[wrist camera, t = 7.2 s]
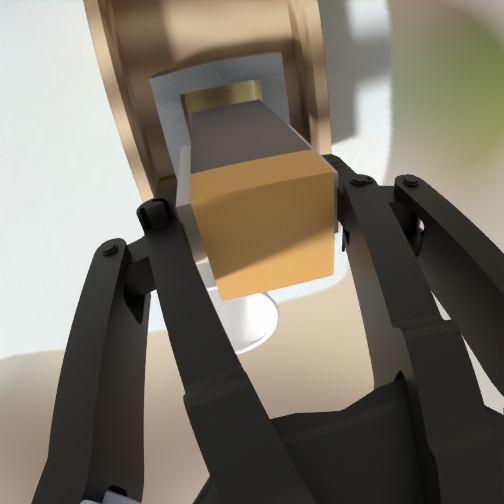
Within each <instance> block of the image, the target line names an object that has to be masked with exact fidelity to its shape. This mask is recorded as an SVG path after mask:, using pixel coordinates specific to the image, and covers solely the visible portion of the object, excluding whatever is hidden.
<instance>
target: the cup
mask: <svg viewBox="0 0 504 504" xmlns="http://www.w3.org/2000/svg"><path fill="white" fill-rule="evenodd" d="M196 266H197V268H198V271H199V273H200V275H201V278H202V280H203V282H204V285H205V287H206V289H207V291H208V294H209V296H210V298H211V301H212V303H213V305H214V307H215V310H216V312H217V314H218V316H219V318H220V321H221V323H222V325H223V327H224V329H225V332H226V334H227V336H228V338H229V340H230V342H231V345H232V347H233V349H234V351H235V353H236V354H240V353H243V352H246V351H248V350H251V349H253V348H255V347H257V346H259V345H260V344H261V343H263V342H264V341H265V340H267V339H268V338H269V337H270V336H271V334H272V333H273V332H274V331H275V329H276V326H277V324H278V320H279V311H278V307H277V305H276V303H275V301H274V300H273V299H272V298H271V297H270V296H269V295H268V294H267V292H262V293H258V294H253V295H249V296H245V297H240V298H236V299H232V300H227V301H223V302H222V300H221V297H220V294H219V291H218V288H217V285H216V282H215V279H214V276H213V273H212V270H211V266H210V263H209V262H206V263H201V264H197V265H196ZM165 326H166V325H165ZM166 330H167V329H166ZM167 333H168V332H167Z"/></svg>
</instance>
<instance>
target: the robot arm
mask: <svg viewBox="0 0 504 504" xmlns="http://www.w3.org/2000/svg"><path fill="white" fill-rule="evenodd" d="M288 126H289V127H290V128H291V129H292V130H293V131H294V132H295V133H296V134H297V135H298V136H299V137H300V138H301V139H302V140H303V141H304V142H305V143H306V144H307V145H308V146H309V147H310V148H311V149H312V150H313V151H314V152H315V153H316V154H317V155H318V156H319V157H320V158H321V159H322V160H323V161H324V162H325V163H326V164H327V165H328V166H329V167H330V168H331V169H332V170H333V171H334V233H337V232H338V221H339V222H340V223H341V225H342V226H343V237H342V252H344V251H345V248H346V252H347V256H348V259H349V263H350V267H351V271H352V275H353V279H354V283H355V287H356V291H357V296H358V300H359V305H360V309H361V314H362V318H363V323H364V328H365V333H366V338H367V343H368V348H369V353H370V358H371V363H372V370H373V375H374V390H373V391H372V392H371V393H369V394H367V395H366V396H364V397H363V398H361V399H360V400H359V401H357V402H355V403H353V404H352V405H350V406H349V407H347V408H345V409H344V410H341V411H333V412H316V413H315V412H314V413H294V414H290V415H286V416H282V417H278V418H274V419H269V417H268V415H267V413H266V411H265V409H264V407H263V405H262V404H261V401H260V399H259V397H258V395H257V393H256V391H255V389H254V387H253V385H252V383H251V382H250V379H249V377H248V375H247V374H246V372H245V371H244V370H243V368H242V366H241V364H240V362H239V359H238V357H237V355H236V353H235V351H234V349H233V347H232V345H231V342H230V340H229V338H228V336H227V334H226V332H225V329H224V327H223V325H222V323H221V321H220V318H219V316H218V314H217V312H216V310H215V307H214V305H213V303H212V301H211V298H210V296H209V294H208V291H207V289H206V287H205V285H204V282H203V280H202V278H201V275H200V273H199V271H198V268H197V266H196V265H197V264H201V263H206V262H209V260H208V257H207V254H206V251H205V248H204V244H203V241H202V238H201V235H200V232H199V228H198V225H197V222H196V218H195V215H194V212H193V209H192V205H191V202H190V167H191V145H187V146H183V147H181V153H180V162H179V173H178V184H177V187H173V188H169V189H165V190H162V191H161V192H160V193H159V195H158V196H157V197H156V198H152V199H150V200H148V201H146V202H144V203H143V204H141V205H140V206H139V208H138V209H137V212H136V213H137V216H138V218H139V221H140V223H141V226H142V228H143V230H144V234H145V236H143V237H142V238H141V239H139V240H137V241H135V242H133V243H131V244H129V245H127V244H126V242H125V241H124V240H123V239H121V238H116V239H111V240H108V241H106V242H104V243H103V244H102V245H101V246H100V247H99V248H98V249H97V250H96V252H95V254H94V257H93V259H92V262H91V265H90V268H89V271H88V274H87V277H86V280H85V283H84V286H83V289H82V292H81V296H80V299H79V302H78V306H77V309H76V312H75V316H74V320H73V323H72V327H71V331H70V334H69V338H68V342H67V346H66V351H65V355H64V359H63V364H62V368H61V373H60V378H59V383H58V388H57V394H56V400H55V406H54V412H53V418H52V425H51V433H50V442H49V451H48V459H47V462H46V464H45V467H44V470H43V472H42V475H41V478H40V480H39V483H38V486H37V489H36V492H35V495H34V497H33V501H32V503H31V504H141V501H142V495H143V487H144V436H143V435H144V433H143V432H144V430H143V428H144V427H143V426H144V422H143V421H144V383H145V363H146V347H147V333H148V321H149V310H150V300H151V293H150V292H151V291H153V290H157V294H158V298H159V302H160V306H161V310H162V314H163V317H164V321H165V325H166V329H167V332H168V336H169V339H170V343H171V346H172V350H173V353H174V357H175V360H176V363H177V366H178V370H179V373H180V376H181V379H182V382H183V386H184V389H185V395H184V396H183V399H184V404H185V408H186V411H187V414H188V417H189V420H190V423H191V426H192V429H193V431H194V434H195V437H196V440H197V443H198V445H199V448H200V451H201V453H202V456H203V459H204V461H205V464H206V466H207V469H208V471H209V473H210V477H209V479H208V480H207V482H206V483H205V485H204V486H203V488H202V490H201V491H200V493H199V494H198V496H197V498H196V499H195V501H194V502H193V504H504V415H502V414H501V413H498V412H497V411H495V410H493V409H491V408H489V407H487V406H485V405H484V402H483V398H482V395H481V391H480V388H479V385H478V381H477V378H476V375H475V372H474V369H473V366H472V363H471V360H470V357H469V354H468V351H467V349H466V346H465V343H464V340H463V338H462V336H463V337H464V339H465V340H466V342H467V344H468V345H469V347H470V348H471V350H472V351H473V353H474V355H475V356H476V358H477V360H478V361H479V363H480V365H481V366H482V368H483V370H484V371H485V373H486V374H487V376H488V377H489V379H490V380H491V382H492V383H493V384H494V386H495V387H496V388H497V390H498V391H499V392H500V393H501V394H502V395H503V396H504V254H503V253H502V251H501V250H500V249H499V248H498V247H497V246H496V245H495V244H494V243H493V242H492V241H491V240H490V239H489V238H488V237H487V236H486V235H485V234H484V233H483V232H482V231H481V230H480V229H479V228H478V227H476V226H475V225H474V224H473V223H472V222H471V221H470V220H469V219H468V218H467V217H466V216H464V214H462V213H461V212H460V211H459V210H458V209H457V208H456V207H455V206H453V205H452V204H451V203H450V202H449V201H448V200H446V199H445V198H444V197H443V196H442V195H440V194H439V193H438V192H437V191H436V190H434V189H433V188H432V187H431V186H430V185H428V184H427V183H426V182H425V181H424V180H422V179H420V178H419V177H416V176H414V175H409V174H407V175H400V176H397V177H396V178H395V184H394V186H378V184H377V182H376V181H375V180H374V179H373V178H372V177H370V176H367V175H362V174H356V173H355V172H354V171H353V170H352V169H351V168H350V167H349V166H347V164H346V163H345V162H343V161H342V160H341V159H340V158H339V157H337V156H335V155H332V154H326V155H320V154H319V153H318V152H317V151H316V150H315V149H314V148H313V147H312V146H311V145H310V144H309V143H308V142H307V141H306V140H305V139H304V138H303V137H302V136H301V135H300V134H299V133H298V132H297V131H296V130H295V129H294V128H293V127H292V126H290V125H288ZM420 220H422V222H423V224H424V230H422V229H421V228H420V227H419V225H420ZM431 291H432V292H431ZM432 293H433V294H434V295H435V297H436V298H437V299H438V301H439V302H440V304H441V305H442V306H443V308H444V309H445V311H446V312H447V314H448V315H449V317H450V318H451V320H443V318H442V317H441V315H440V312H439V310H438V307H437V305H436V302H435V300H434V297H433V295H432ZM461 334H462V335H461ZM503 413H504V408H503Z"/></svg>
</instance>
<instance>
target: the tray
mask: <svg viewBox="0 0 504 504" xmlns="http://www.w3.org/2000/svg"><path fill="white" fill-rule="evenodd" d="M83 1H84V6H85V11H86V16H87V20H88V25H89V29H90V33H91V38H92V42H93V46H94V50H95V54H96V58H97V62H98V65H99V69H100V73H101V76H102V80H103V84H104V87H105V91H106V94H107V97H108V101H109V104H110V107H111V111H112V114H113V117H114V120H115V124H116V127H117V130H118V133H119V136H120V139H121V142H122V145H123V148H124V151H125V154H126V157H127V160H128V163H129V165H130V168H131V171H132V174H133V177H134V179H135V182H136V185H137V188H138V190H139V193H140V196H141V198H142V201H143V203H144V202H146V201H148V200H150V199H152V198H156V197H157V196H158V195H159V193H160V192H161V191H162V190H165V189H169V188H173V187H177V184H178V181H177V178H176V175H175V171H174V168H173V164H172V161H171V158H170V154H169V151H168V147H167V144H166V140H165V137H164V133H163V130H162V126H161V122H160V119H159V115H158V111H157V108H156V104H155V100H154V96H153V92H152V89H151V85H150V81H149V79H150V78H151V77H152V76H154V75H155V74H156V73H159V72H162V71H166V70H170V69H173V68H177V67H181V66H185V65H189V64H194V63H198V62H203V61H207V60H212V59H217V58H222V57H228V56H233V55H239V54H246V53H252V52H259V51H267V50H268V51H275V52H281V54H282V61H283V69H284V76H285V84H286V91H287V99H288V108H289V116H290V125H291V126H292V127H293V128H294V129H295V130H296V131H297V132H298V133H299V134H300V135H301V136H302V137H303V138H304V139H305V140H306V141H307V142H308V143H309V144H310V145H311V146H312V147H313V148H314V149H315V150H316V151H317V152H318V153H319V154H320V155H326V154H332V151H331V130H330V113H329V99H328V86H327V75H326V64H325V55H324V46H323V37H322V29H321V21H320V14H319V7H318V0H83Z"/></svg>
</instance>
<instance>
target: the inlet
mask: <svg viewBox="0 0 504 504" xmlns="http://www.w3.org/2000/svg"><path fill="white" fill-rule="evenodd" d="M149 81H150V85H151V89H152V92H153V96H154V100H155V104H156V108H157V111H158V115H159V119H160V122H161V126H162V130H163V133H164V137H165V140H166V144H167V147H168V151H169V154H170V158H171V161H172V164H173V168H174V171H175V175H176V178H177V181H178V173H179V162H180V153H181V147H183V146H187V145H191V119H192V113H194V112H199V111H203V110H207V109H212V108H216V107H221V106H226V105H231V104H236V103H241V102H246V101H252V100H258V99H260V100H261V101H262V102H263V103H264V104H265V105H266V106H267V107H268V108H270V109H271V110H272V111H273V112H274V113H275V114H276V115H277V116H278V117H279V118H280V119H281V120H283V121H284V122H285V123H286V124H287V125H290V116H289V108H288V99H287V91H286V84H285V76H284V69H283V61H282V54H281V52H275V51H268V50H267V51H259V52H252V53H246V54H239V55H233V56H228V57H222V58H217V59H212V60H207V61H203V62H198V63H194V64H189V65H185V66H181V67H177V68H173V69H170V70H166V71H162V72H159V73H156V74H155V75H154V76H152V77H151V78H150V79H149ZM290 126H291V125H290Z"/></svg>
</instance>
